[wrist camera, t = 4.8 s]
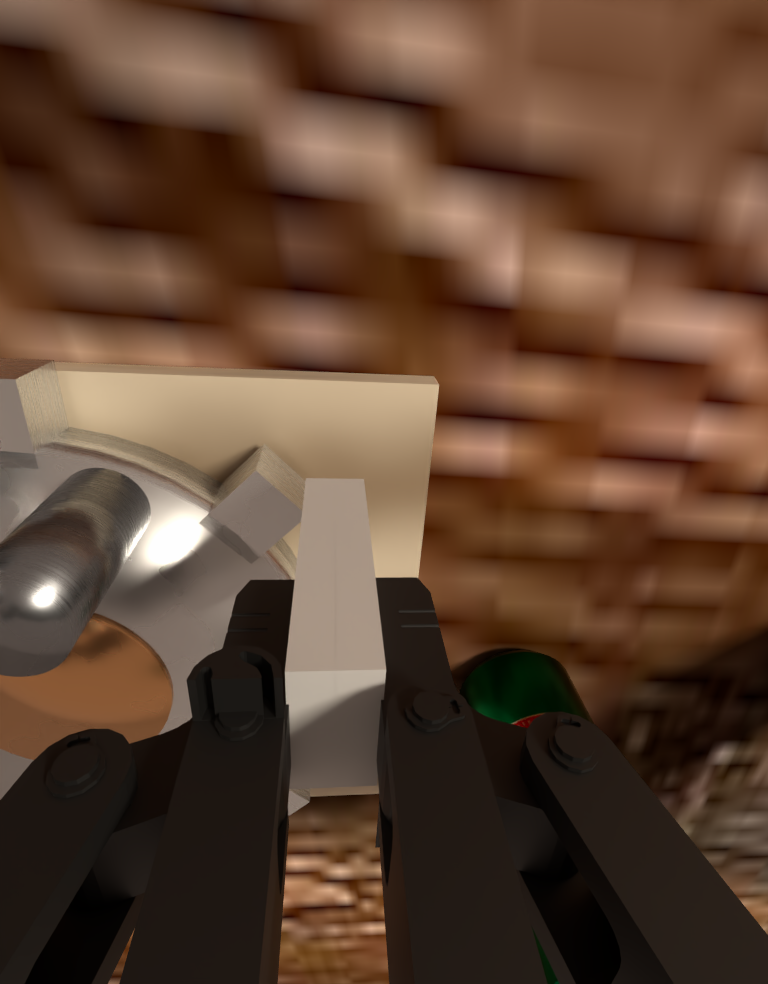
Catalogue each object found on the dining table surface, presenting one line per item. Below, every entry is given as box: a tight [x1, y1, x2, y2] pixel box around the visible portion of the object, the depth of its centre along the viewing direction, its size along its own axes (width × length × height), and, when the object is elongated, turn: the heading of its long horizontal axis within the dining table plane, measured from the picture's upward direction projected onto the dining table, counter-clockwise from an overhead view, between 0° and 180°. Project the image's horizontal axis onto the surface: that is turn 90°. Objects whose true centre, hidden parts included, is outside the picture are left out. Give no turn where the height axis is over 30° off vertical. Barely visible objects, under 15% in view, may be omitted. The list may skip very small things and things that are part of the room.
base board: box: [55, 362, 439, 797], centre depth 20 cm, size 20×24×1 cm
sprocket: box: [0, 358, 310, 816], centre depth 16 cm, size 21×21×7 cm
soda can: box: [459, 650, 594, 984], centre depth 19 cm, size 5×5×12 cm
